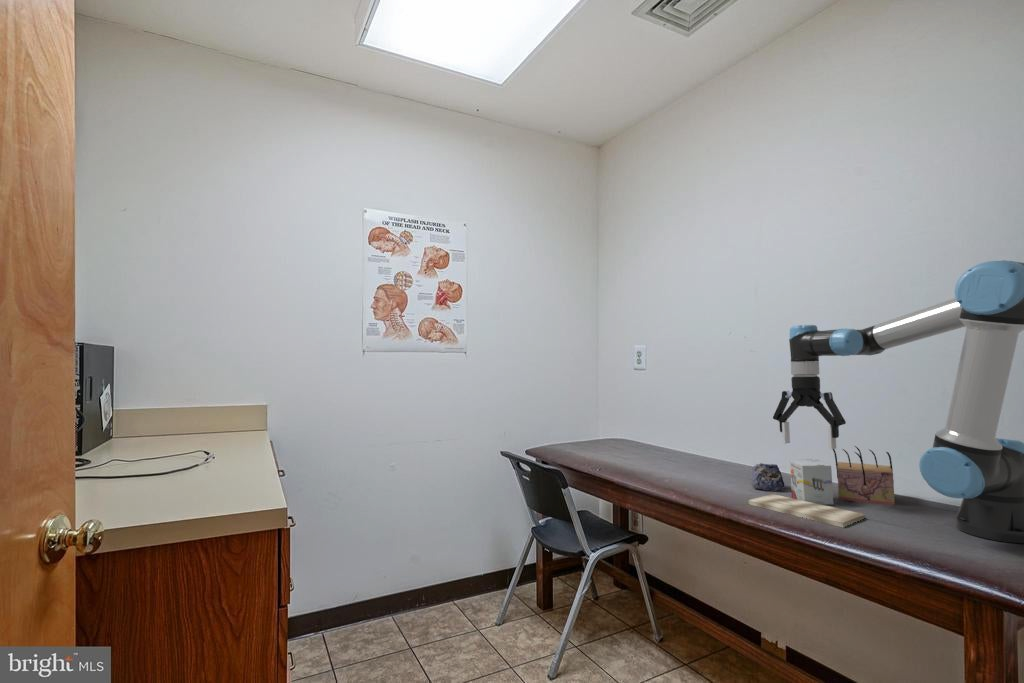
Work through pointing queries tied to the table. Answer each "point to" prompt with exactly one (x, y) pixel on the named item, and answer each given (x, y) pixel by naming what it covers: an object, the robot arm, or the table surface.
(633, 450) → the table surface
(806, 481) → the ink box
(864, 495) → the anatomical model
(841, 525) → the board
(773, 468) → the rock
